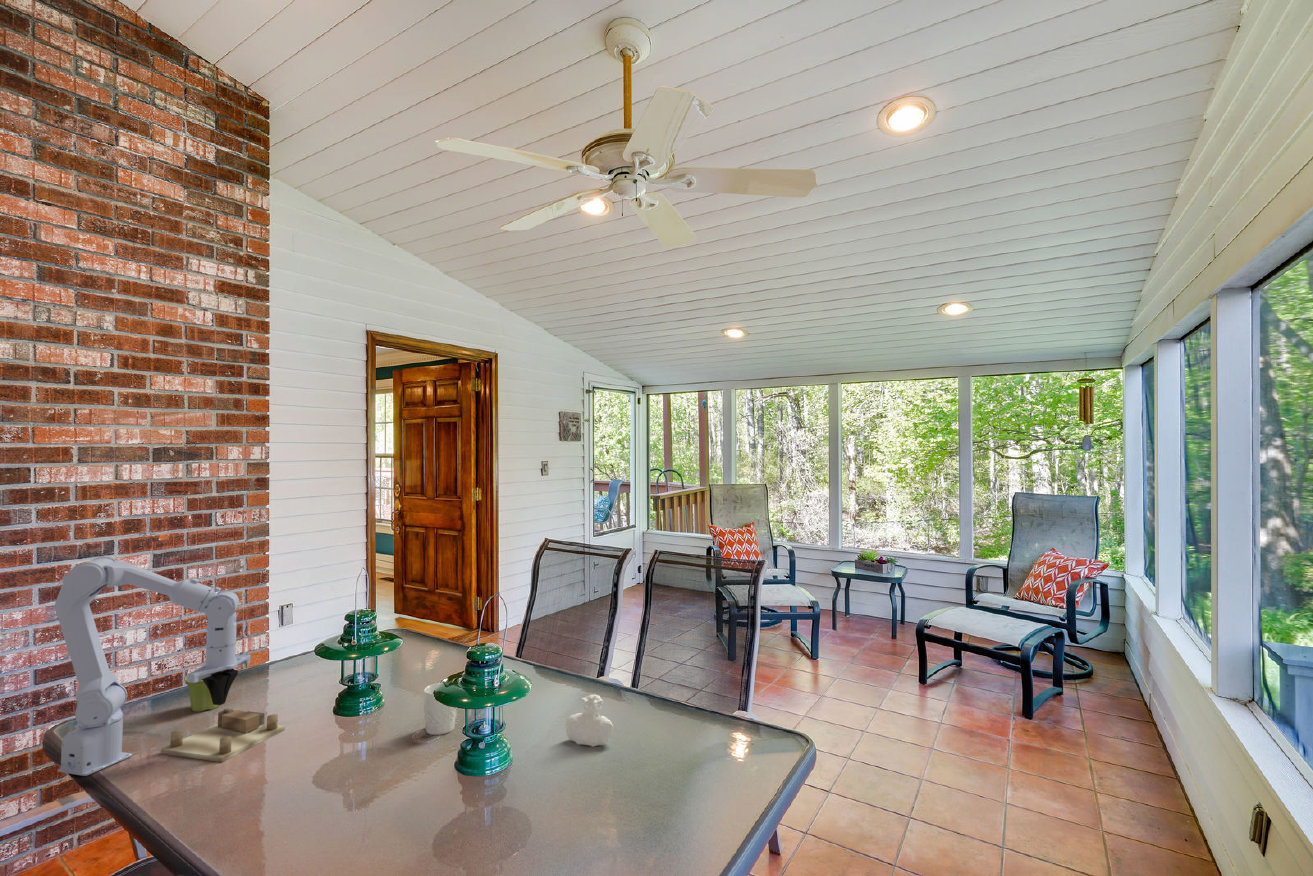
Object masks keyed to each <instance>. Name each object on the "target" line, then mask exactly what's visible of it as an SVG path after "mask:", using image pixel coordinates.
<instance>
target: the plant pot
mask: <svg viewBox="0 0 1313 876" xmlns="http://www.w3.org/2000/svg"><path fill="white" fill-rule="evenodd" d="M184 681H185V682H186V685H187V687H188V693H189V694H188V695H189V701H190V708H191V710H192V712H204V711H206V710H213V709H216V708H217V707H219V706H220V705H213V702H212V698H211V695H210V692H209V689H208V687H207V686H206V684H205V683H204V681H203V680H202V679H201V680H198V682H196V683H190V682H187V675H186V676H185V677H184Z"/></svg>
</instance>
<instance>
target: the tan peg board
mask: <svg viewBox="0 0 1313 876" xmlns="http://www.w3.org/2000/svg"><path fill="white" fill-rule="evenodd" d="M246 712H250V713H255V714H260V726H259V727H258V728H256V729H253V730H251V731H249V732H247V733H244V732H239V731H234V730H230V729H225V728H222V727H218V723H216V724H213V725H211V726H209V727H207V728H204V729H202V730H201V731H198V732H196V733H193V734H192V735H189V736H187V737H183V736H184V731H183V730H182V729H177V730H174V731H171V732H170V740H169V741H170V744H169V745H167V746H164V747H162V748H160V754H161V755H170V756H176V757H177V756H178V757H184V758H190V759H196V760H197V759H198V760H204V761H205V760H206V761H212V762H219V763H223V762H225V761H227V760H229V759H231V758H234V757H236V756H237V755H239V754H241V753H243V752H245V751H247V750H249V749H251V748H253V747H255V746H257V745H259V744H260V743H263V742H264V741H266V740H268V739H270V738H272V737H274V736H276V735H278V734H279V733H281V732H284V731H285V730H286V725H283V724H278V717H279V715H278V714H277V713H274V714H270V715H267V716H266V723H265V713H264V712H257V711H256V712H255V711H246Z"/></svg>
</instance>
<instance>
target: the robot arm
mask: <svg viewBox="0 0 1313 876" xmlns="http://www.w3.org/2000/svg"><path fill="white" fill-rule="evenodd" d="M123 585H125V586H126V585H131V586H134V587H137V588H141V589H144V590H147V591H152V592H155V593H158V594H161V595H165V596H167V597H168V598H169V600H170V603H171V604H174V605H177V606H180V607H184V608H186V609H189V610H192V611H194V612H195V611H196V612H199V613H204V615H205V616H206V617H207V627H206V639H205V640H206V641H205V642H206V643H205V644H206V645H205V664H204V665H203V666H200V667H199V668H197V669H195V670H193V671H190V672H189V673H187V675H186V676H187V682H190V683H196V682H198V680H201V679H202V680H203V681H204V683H205V684H206V686H207V687H208V689H209V692H210V695H211V698H212V702H213V705H219V706H221V705H224V704H226V701H227V698H228V695H229V691H230V689H231V687H232V685H233V682H234V681H235V679H236V677H237V676H238V674H239V671H238V669H235V668H237V667H239V666H242V665H247V664H250V663H251V654H247V653H245V654H240V655H238V656H237V655H236V650H237V625H238V623H237V612H236V610H237V609H238V607H239V606H240V605H239V604H240V598H239V596H238V595H237V594H236V593H235V592H234V591H232V590H230V589H224V590H223V589H222V588H221V587H218V586H216V587H212V586H209V585H205V584H203V583H200V580H199V579H197V578H194V577H193V578H192V579H187V578H185V579H183V580H180V581H179V580H178V581H177V580H174V579H171V578H168V577H165V576H162V574H161V575H160V574H158V573H155V572H153V571H151V570H148V569H145V568H143V567H140V566H137V565H134V564H132V563H129V562H127V561H125V560H119V559H118V560H116V559H115V558H113V557H111V556H99V557H96V558H94V559H92V560H90V561H87V562H81V563H79V564H77V565H75V566H74V567H73V568H71V569H70V570H69V572H68V573H67V574H65V576H63V577H62V585H61V588H60V590H59V593H58V595H57V598H56V601H55V602H54V610H55V612H56V616H57V620H58V622H59V625H60V629H61V633H62V634H63V639H64V642H65V645H66V648H67V651H68V654H69V658H70V661H71V664H72V668H73V671H74V674H75V677H76V679H77V684H78V686H77V688H76V689H77V690H76V693H75V699H76V700H75V701H76V709H75V712H74V716H75V719H76V721H77V723H78V726H77V727H76V728H75V729H73V730H72V731H69V732H68V733H66V734H65V735H64V736H63V738H62V741H61V750H60V751H61V752H60V753H61V756H60V768H59V769H57V772H58V773H63V774H68V775H69V774H70V775H75V776H76V775H77V776H81V777H87V776H89V775H91V774H93V773H97V772H98V771H100V770H103V769H106V768H108V767H110V766H112V765H114V764H116V763H119V762H121V761H124V760H126V759H127V758H128V759H129V758H130V757H132V756H133V753H130V752H124V751H122V750H123V734H124V733H123V730H124V725H123V724H124V713H123V711H122V710H121V709H122V707H123V706H124V705H125V703H126V702H127V699H128V692H127V691H128V690H127V689H126V687H124V686H123V685H122V684H121V683H120V682H119V681H118V677H117V675H115V674H114V673H112V672H111V671H110V668H109V665H108V661H107V658H106V655H105V651H104V648H103V644H102V642H101V638H100V635H99V632H98V628H97V626H96V622H95V619H94V615H93V612H92V610H91V607H90V604H91V603H92V602H93V601H94V599H95V598H96V597H97V596H98V594H99V593H100V591H102V590H103V589H105V588H106V587H107V588H112V587H118V586H123ZM187 682H186V683H187Z"/></svg>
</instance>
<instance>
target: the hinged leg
mask: <svg viewBox="0 0 1313 876" xmlns="http://www.w3.org/2000/svg"><path fill="white" fill-rule="evenodd" d="M250 712H251V711H250ZM250 712H247V711H243V710H239V709H235V710H234V709H230V708H224V709H223V710H221V711H218V713H217V724H218V727H222V728H225V729H230V730H234V731H239V732H244V733H247V732H249V731H251V730H253V729H256V728H258V727H259V726H260V714H255V713H250Z"/></svg>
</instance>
